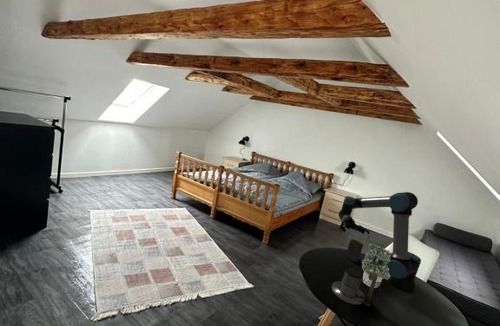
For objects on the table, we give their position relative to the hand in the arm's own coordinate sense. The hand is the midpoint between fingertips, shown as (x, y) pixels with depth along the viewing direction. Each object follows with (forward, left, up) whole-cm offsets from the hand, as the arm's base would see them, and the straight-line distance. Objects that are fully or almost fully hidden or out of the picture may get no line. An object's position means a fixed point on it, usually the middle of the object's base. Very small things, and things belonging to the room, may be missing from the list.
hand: (358, 235), depth 183 cm
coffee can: (+4, +19, -30) cm, 35 cm away
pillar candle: (-12, -25, -30) cm, 41 cm away
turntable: (+4, +19, -30) cm, 36 cm away
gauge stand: (-5, +26, -30) cm, 40 cm away
